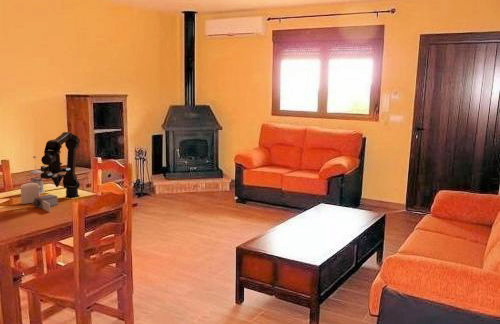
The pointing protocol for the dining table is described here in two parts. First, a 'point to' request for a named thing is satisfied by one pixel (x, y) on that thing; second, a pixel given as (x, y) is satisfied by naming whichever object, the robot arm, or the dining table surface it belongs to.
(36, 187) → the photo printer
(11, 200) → the dining table surface
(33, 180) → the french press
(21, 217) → the dining table surface
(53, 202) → the camera body
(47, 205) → the side door
